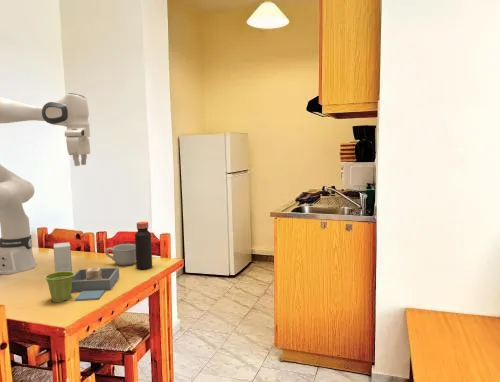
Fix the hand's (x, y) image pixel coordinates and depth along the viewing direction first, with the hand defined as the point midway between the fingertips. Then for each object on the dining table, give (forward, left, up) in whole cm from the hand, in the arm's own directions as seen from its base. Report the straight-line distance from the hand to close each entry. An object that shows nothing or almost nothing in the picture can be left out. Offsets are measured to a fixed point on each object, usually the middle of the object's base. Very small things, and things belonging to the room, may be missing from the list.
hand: (80, 165), depth 178 cm
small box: (-7, -8, -45) cm, 47 cm away
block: (+9, -22, -45) cm, 51 cm away
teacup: (+14, +6, -45) cm, 48 cm away
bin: (+9, -22, -45) cm, 51 cm away
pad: (+11, -35, -45) cm, 58 cm away
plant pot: (+2, -37, -45) cm, 58 cm away
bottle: (+25, -2, -45) cm, 52 cm away
